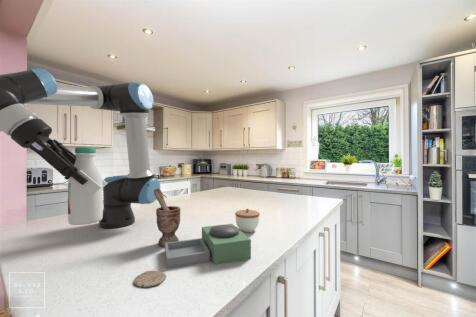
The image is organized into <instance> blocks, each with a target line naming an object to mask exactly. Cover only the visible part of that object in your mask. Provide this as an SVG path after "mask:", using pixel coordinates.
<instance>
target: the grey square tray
mask: <svg viewBox="0 0 476 317" xmlns="http://www.w3.org/2000/svg"><path fill="white" fill-rule="evenodd" d="M164 254H165V261H166V268H167V269H170V268H176V267H182V266H183V267H184V266H188V265H193V264H194V265H195V264H200V263H206V262H210V261H211V258H210V252H209V250H208V248H207V247H206V245H205V243H204V242H203V240H202V237H201V238H193V239H184V240H183V239H182V240H179V241H175V242H168V243H165V247H164Z"/></svg>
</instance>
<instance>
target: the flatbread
mask: <svg viewBox="0 0 476 317" xmlns="http://www.w3.org/2000/svg"><path fill="white" fill-rule="evenodd" d="M166 278H167V275H166V273H165V272H164V271H162V270H147V271H144V272H142V273H140V274H139V275H137V276H135V278H134V280H133V284H134V286H137V287H140V288H150V287H155V286H156V287H157V286H159V285H161V284H162V283H163V282H164V281H165V280H166Z"/></svg>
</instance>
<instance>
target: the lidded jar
mask: <svg viewBox="0 0 476 317" xmlns="http://www.w3.org/2000/svg"><path fill="white" fill-rule="evenodd" d="M234 214H235V223H236V227H238V228H239V230H240V231H241V232H243V233H251V232H254V231H255V230H256V229H257V228H258V226H259V223H260V212H259V211H257V210H254V209H249V208H246V209H240V210H239V209H238V210H237V211H235V213H234Z"/></svg>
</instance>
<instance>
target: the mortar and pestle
mask: <svg viewBox="0 0 476 317" xmlns="http://www.w3.org/2000/svg"><path fill="white" fill-rule="evenodd" d="M154 195H155V197H156V201H157V202H158V204H159V205H160V207H158V208H156V209H155V213H156V225H157V229H158V231H159V232H160V233H161V235H162V236H161V237H160V238H159V240H158V246H160V247H164V248H165V243H168V242H175V241H180V239H179V238H178V236H177V235H176V232H177V231H178V230H179V226H180V223H181V207H180V206H175V205H174V206H173V205H172V206H171V205H169V206H168V205H167V203H166V201H165V198H164V195H163V192H162V190H161V188H160V189H155V190H154Z"/></svg>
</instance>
